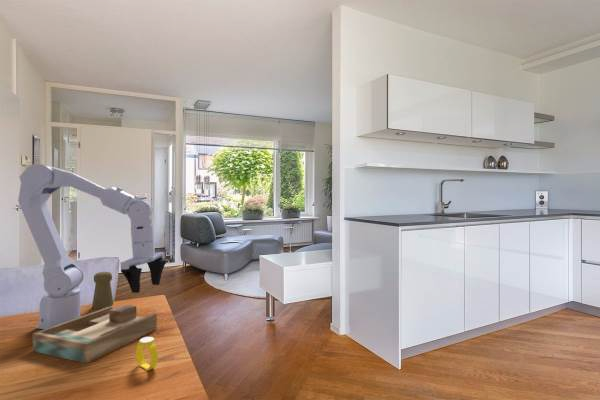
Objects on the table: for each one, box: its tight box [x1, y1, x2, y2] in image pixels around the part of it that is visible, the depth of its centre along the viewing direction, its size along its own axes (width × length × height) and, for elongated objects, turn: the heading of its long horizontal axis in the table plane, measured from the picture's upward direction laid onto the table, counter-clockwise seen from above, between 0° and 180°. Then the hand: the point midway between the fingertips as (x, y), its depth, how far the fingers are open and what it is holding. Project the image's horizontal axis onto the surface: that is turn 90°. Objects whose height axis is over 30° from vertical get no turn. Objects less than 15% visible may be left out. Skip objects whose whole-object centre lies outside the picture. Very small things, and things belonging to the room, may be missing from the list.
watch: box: [135, 336, 159, 372], centre depth 68 cm, size 6×3×6 cm, turn 55°
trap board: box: [31, 306, 158, 364], centre depth 82 cm, size 17×20×4 cm
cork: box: [91, 271, 114, 310], centre depth 107 cm, size 6×6×11 cm
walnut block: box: [109, 304, 137, 323], centre depth 89 cm, size 4×5×3 cm
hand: (146, 288), depth 96 cm, fingers open, 7 cm apart
